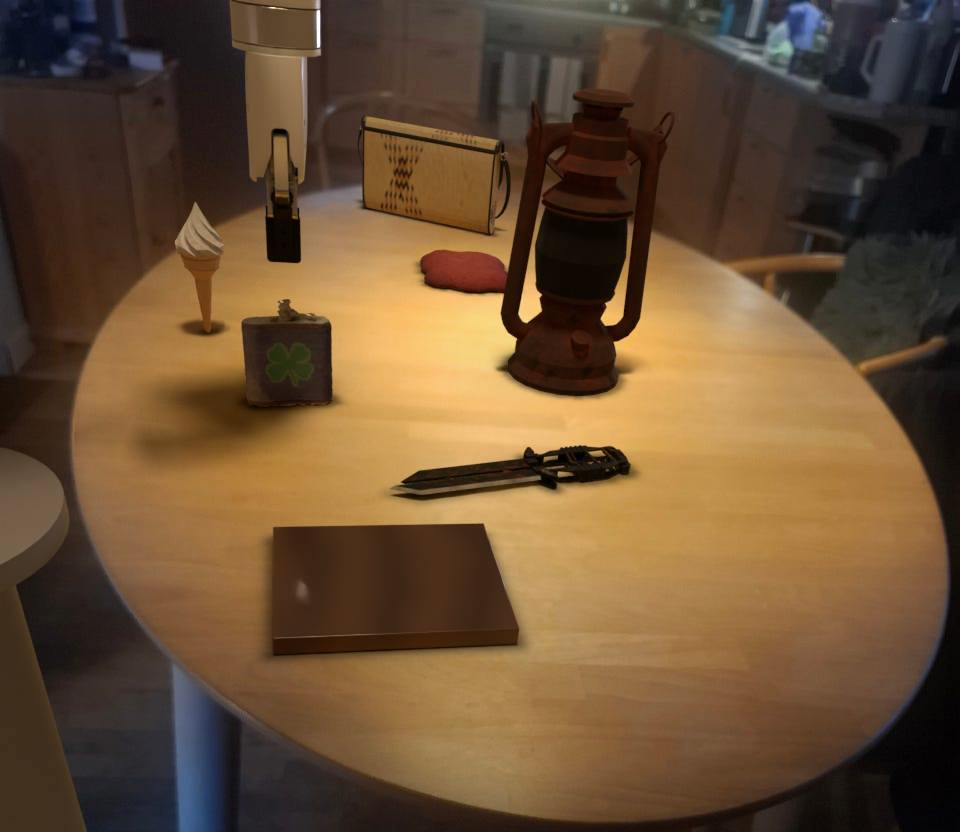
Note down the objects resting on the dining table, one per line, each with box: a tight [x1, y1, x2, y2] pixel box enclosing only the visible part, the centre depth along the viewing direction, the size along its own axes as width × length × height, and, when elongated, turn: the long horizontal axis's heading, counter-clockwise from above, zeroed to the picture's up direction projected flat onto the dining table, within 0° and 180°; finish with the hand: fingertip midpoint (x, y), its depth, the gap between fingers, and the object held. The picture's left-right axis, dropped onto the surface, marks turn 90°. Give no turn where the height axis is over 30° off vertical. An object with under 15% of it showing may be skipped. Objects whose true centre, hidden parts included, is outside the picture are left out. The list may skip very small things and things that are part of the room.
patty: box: [419, 249, 508, 293], centre depth 137 cm, size 18×14×2 cm
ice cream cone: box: [174, 201, 225, 334], centre depth 106 cm, size 6×6×15 cm
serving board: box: [272, 522, 520, 655], centre depth 71 cm, size 18×15×2 cm
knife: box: [389, 444, 631, 496], centre depth 88 cm, size 25×6×1 cm, turn 108°
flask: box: [240, 298, 334, 408], centre depth 94 cm, size 9×3×11 cm, turn 106°
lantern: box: [500, 87, 676, 397], centre depth 101 cm, size 17×14×30 cm
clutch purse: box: [357, 115, 512, 236], centre depth 158 cm, size 30×7×15 cm, turn 66°
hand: (283, 254), depth 87 cm, fingers open, 3 cm apart
